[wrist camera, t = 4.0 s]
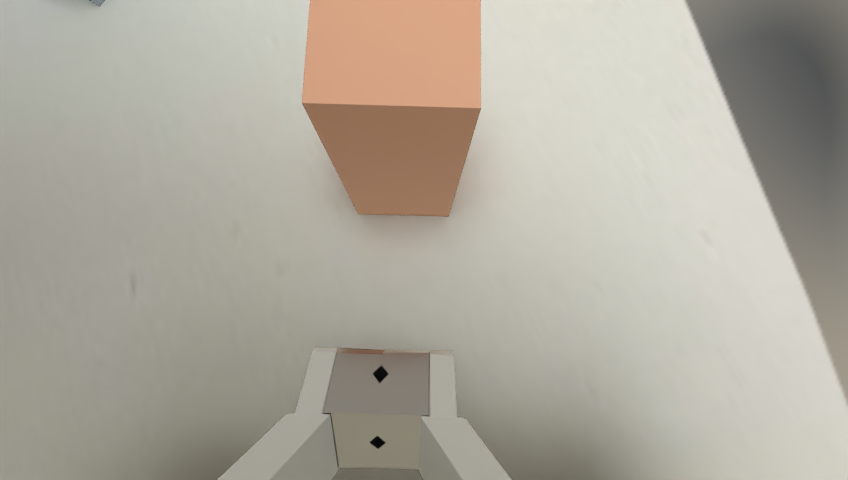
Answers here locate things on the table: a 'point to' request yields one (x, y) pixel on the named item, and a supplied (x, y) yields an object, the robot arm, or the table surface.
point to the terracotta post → (395, 97)
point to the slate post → (97, 2)
